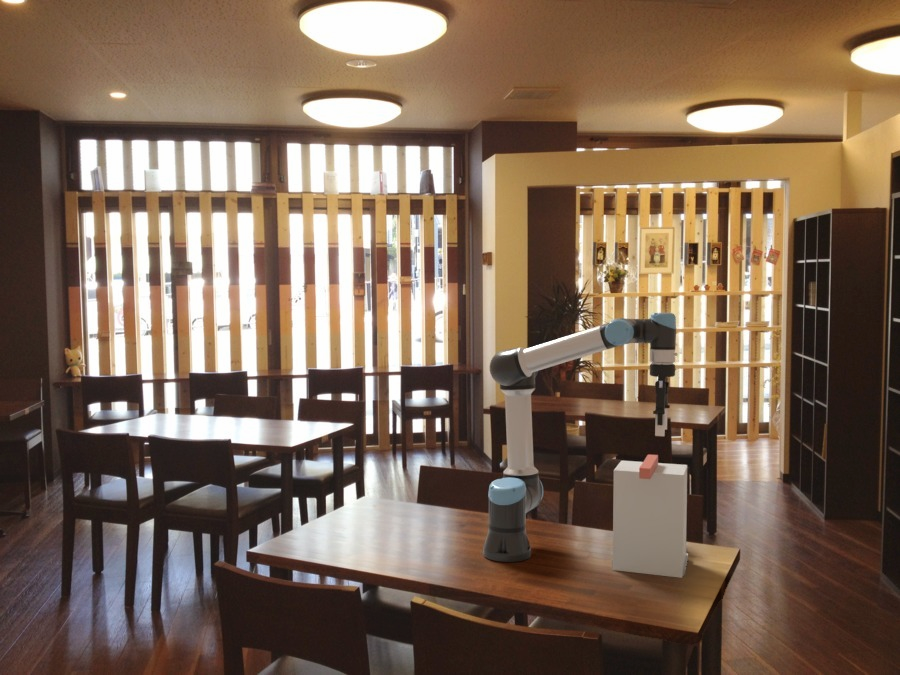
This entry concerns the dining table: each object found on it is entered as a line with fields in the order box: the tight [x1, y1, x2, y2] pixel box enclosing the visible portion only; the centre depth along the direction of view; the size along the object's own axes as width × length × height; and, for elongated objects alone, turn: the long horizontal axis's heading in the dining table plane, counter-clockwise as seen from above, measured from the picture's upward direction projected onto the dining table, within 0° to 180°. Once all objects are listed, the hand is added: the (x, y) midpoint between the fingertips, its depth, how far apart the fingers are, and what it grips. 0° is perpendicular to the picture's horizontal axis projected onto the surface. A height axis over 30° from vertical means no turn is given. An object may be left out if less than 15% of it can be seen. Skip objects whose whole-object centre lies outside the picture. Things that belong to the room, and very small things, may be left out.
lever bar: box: [639, 454, 659, 479], centre depth 236 cm, size 22×3×3 cm, turn 160°
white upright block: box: [611, 460, 689, 579], centre depth 243 cm, size 18×21×30 cm
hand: (661, 432), depth 245 cm, fingers open, 13 cm apart
